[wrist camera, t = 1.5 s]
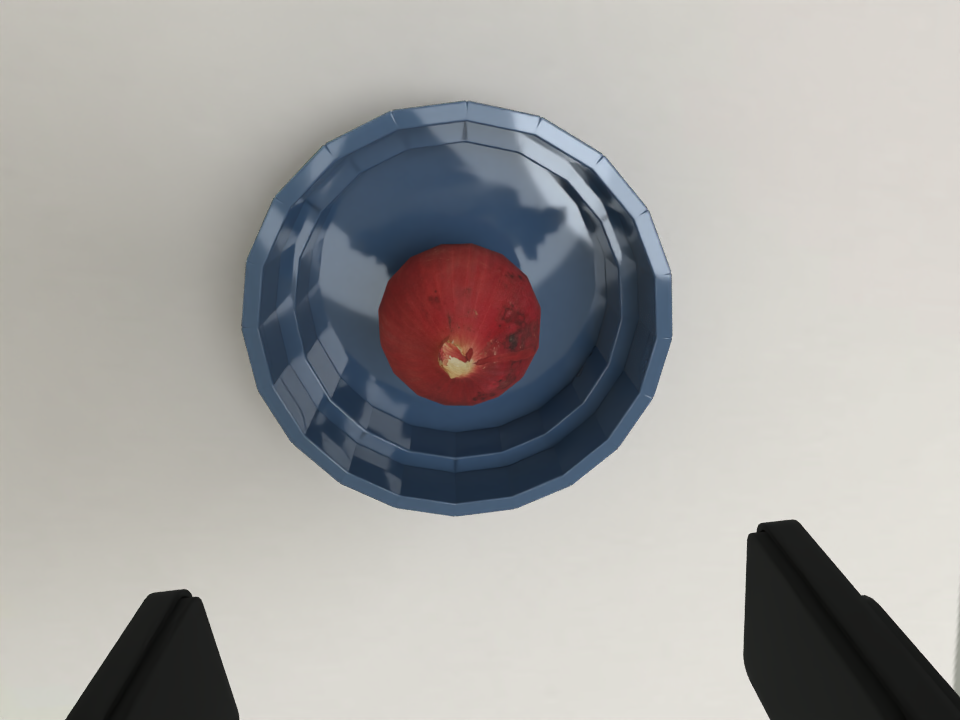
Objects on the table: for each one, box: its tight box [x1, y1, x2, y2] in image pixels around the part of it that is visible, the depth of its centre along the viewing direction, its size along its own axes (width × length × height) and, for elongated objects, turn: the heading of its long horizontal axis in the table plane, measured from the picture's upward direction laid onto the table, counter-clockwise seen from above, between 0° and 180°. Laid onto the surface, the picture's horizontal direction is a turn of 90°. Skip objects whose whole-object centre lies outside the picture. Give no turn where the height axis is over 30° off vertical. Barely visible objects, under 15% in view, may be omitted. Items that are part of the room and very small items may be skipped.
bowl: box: [241, 101, 672, 516], centre depth 25 cm, size 15×15×5 cm
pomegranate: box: [378, 243, 541, 406], centre depth 23 cm, size 6×6×8 cm
